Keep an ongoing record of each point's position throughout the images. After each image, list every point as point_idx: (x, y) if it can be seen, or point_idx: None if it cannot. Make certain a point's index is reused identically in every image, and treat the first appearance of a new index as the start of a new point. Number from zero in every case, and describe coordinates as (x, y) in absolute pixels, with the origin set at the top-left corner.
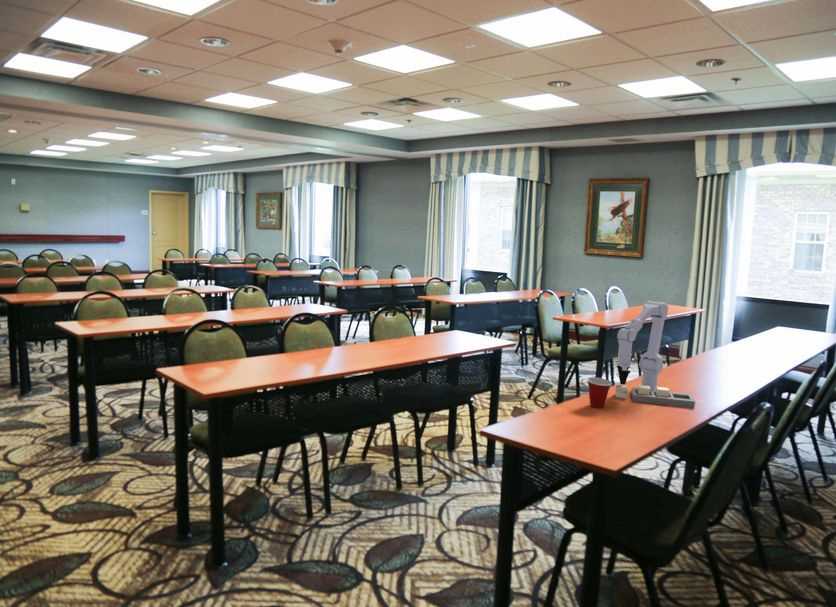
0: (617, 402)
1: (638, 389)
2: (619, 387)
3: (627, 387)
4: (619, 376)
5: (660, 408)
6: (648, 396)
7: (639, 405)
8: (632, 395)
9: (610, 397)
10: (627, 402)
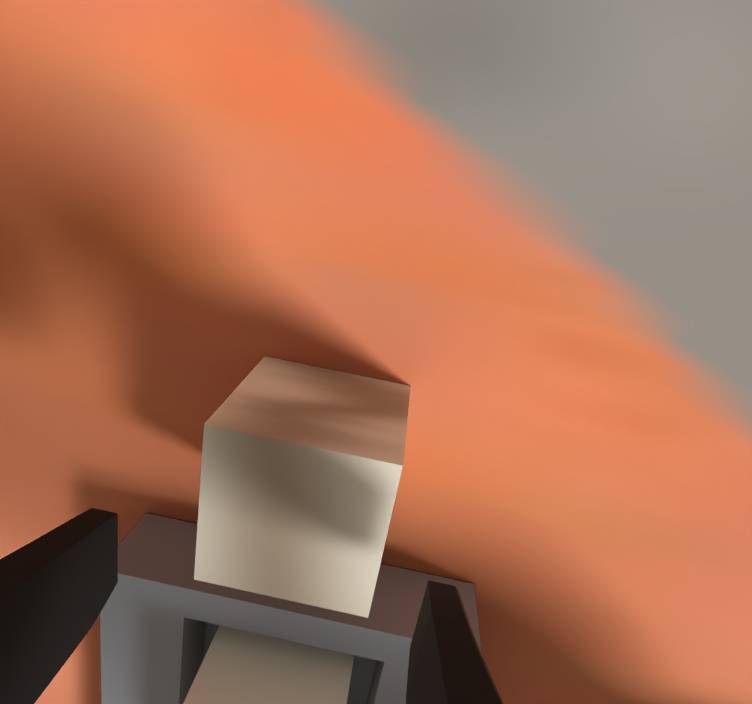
0: (17, 315)
1: (223, 694)
2: (203, 467)
3: (241, 587)
4: (433, 649)
5: None
6: (107, 700)
7: (11, 528)
8: None
9: (228, 278)
10: (73, 437)
